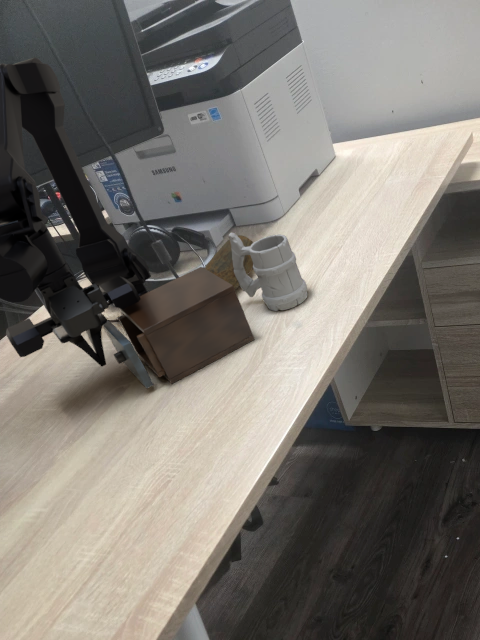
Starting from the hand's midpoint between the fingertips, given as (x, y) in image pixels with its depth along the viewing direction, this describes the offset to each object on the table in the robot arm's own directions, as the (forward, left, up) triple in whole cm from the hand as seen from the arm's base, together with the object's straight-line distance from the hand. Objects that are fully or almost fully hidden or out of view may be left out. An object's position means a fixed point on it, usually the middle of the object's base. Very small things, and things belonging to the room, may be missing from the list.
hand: (103, 364), depth 101 cm
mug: (+10, +28, -3) cm, 30 cm away
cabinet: (+8, +12, -3) cm, 15 cm away
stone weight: (-4, +30, -3) cm, 31 cm away
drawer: (+6, +8, -2) cm, 10 cm away
